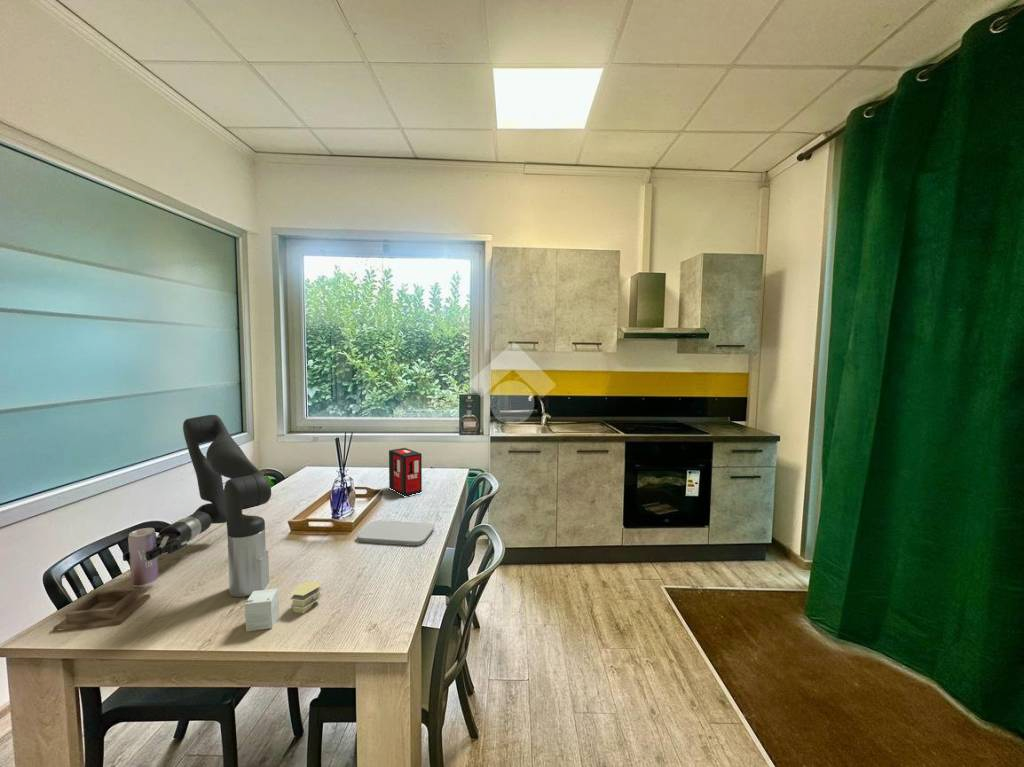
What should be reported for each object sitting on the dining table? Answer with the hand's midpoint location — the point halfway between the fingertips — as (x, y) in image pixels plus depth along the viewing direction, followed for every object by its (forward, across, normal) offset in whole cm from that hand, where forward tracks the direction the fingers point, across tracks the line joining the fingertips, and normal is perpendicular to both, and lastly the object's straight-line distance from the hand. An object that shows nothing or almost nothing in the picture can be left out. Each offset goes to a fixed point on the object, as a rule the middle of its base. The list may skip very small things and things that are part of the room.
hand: (136, 557), depth 120 cm
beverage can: (-2, 0, +9) cm, 9 cm away
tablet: (-39, +63, +12) cm, 75 cm away
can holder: (+9, -1, +11) cm, 14 cm away
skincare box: (+13, +42, +12) cm, 46 cm away
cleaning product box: (-91, +55, +12) cm, 107 cm away
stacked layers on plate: (+6, +50, +12) cm, 52 cm away
